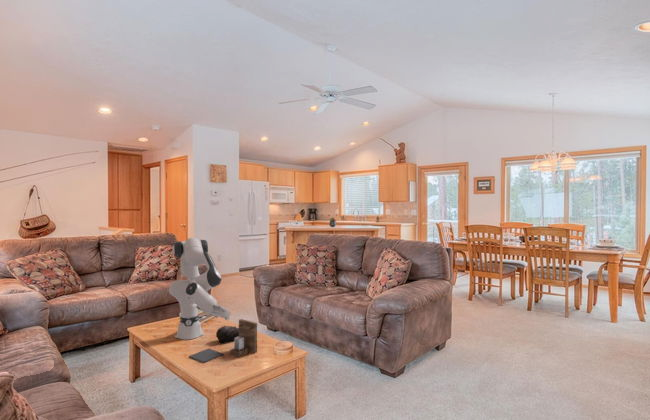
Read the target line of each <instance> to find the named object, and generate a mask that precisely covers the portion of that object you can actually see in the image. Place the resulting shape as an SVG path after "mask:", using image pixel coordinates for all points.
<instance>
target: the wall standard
mask: <svg viewBox="0 0 650 420" xmlns="http://www.w3.org/2000/svg"><path fill="white" fill-rule="evenodd" d="M238 328H239V336H241V337H244V350H242V351H236V350H234V348H232V349H230V355H231V356H233V357H237V358H240V357H243V356H245V355H248V353H252V354H257V353H258V322H254V321H250V320H247V319H243V318H240V319H238Z"/></svg>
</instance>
